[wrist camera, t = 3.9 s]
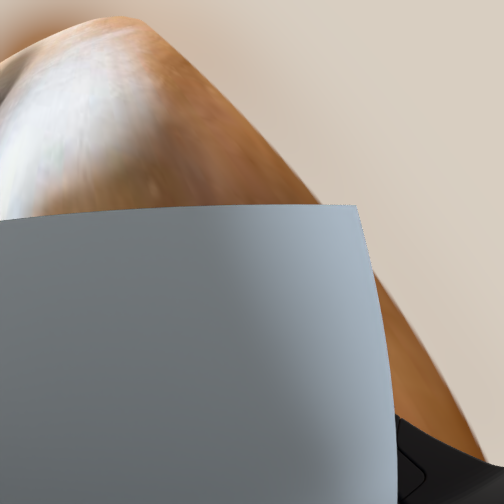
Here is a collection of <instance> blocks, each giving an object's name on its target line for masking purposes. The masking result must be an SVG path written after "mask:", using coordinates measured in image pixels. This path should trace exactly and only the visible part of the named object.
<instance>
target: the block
mask: <svg viewBox="0 0 504 504" xmlns="http://www.w3.org/2000/svg"><path fill="white" fill-rule="evenodd" d="M0 504H397V444H396V427H395V413H394V402H393V392H392V383H391V374H390V367H389V359H388V352H387V345H386V339H385V333H384V327H383V321H382V315H381V310H380V304H379V299H378V294H377V289H376V284H375V280H374V275H373V270H372V266H371V262H370V257H369V253H368V249H367V245H366V241H365V237H364V233H363V229H362V225H361V222H360V218H359V214H358V211H357V207H356V205H217V206H186V207H163V208H143V209H126V210H111V211H97V212H84V213H72V214H60V215H50V216H39V217H30V218H20V219H12V220H3V221H0Z"/></svg>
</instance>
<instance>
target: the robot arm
mask: <svg viewBox="0 0 504 504" xmlns="http://www.w3.org/2000/svg"><path fill="white" fill-rule="evenodd" d="M395 427H396V444H397V504H504V467H500V466H495V465H492V464H489V463H486V462H484V461H482V460H479V459H477V458H475V457H473V456H470V455H468V454H466V453H464V452H462V451H460V450H457V449H455V448H453V447H451V446H449V445H447V444H445V443H443V442H441V441H439V440H437V439H435V438H434V437H432V436H430V435H428V434H426V433H425V432H423V431H421V430H420V429H418V428H417V427H415V426H413V425H412V424H410V423H409V422H407V421H406V420H404V419H403V418H401V419H400V417H399V416H398V415H396V414H395Z"/></svg>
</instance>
